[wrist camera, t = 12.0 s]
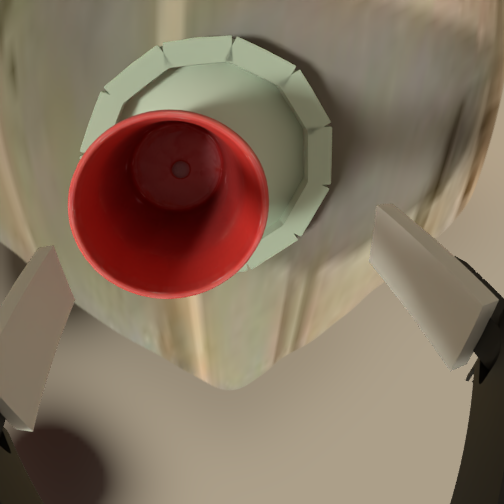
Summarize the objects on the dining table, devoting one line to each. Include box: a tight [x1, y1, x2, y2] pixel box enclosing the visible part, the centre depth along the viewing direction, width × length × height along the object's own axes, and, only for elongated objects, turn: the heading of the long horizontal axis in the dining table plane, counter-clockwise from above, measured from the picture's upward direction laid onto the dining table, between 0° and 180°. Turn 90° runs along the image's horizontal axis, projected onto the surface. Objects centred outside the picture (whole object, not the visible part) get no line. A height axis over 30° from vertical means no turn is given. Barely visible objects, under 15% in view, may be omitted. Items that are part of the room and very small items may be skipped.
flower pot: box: [68, 109, 269, 299], centre depth 20 cm, size 11×11×10 cm
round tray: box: [80, 35, 332, 272], centre depth 24 cm, size 20×20×2 cm
